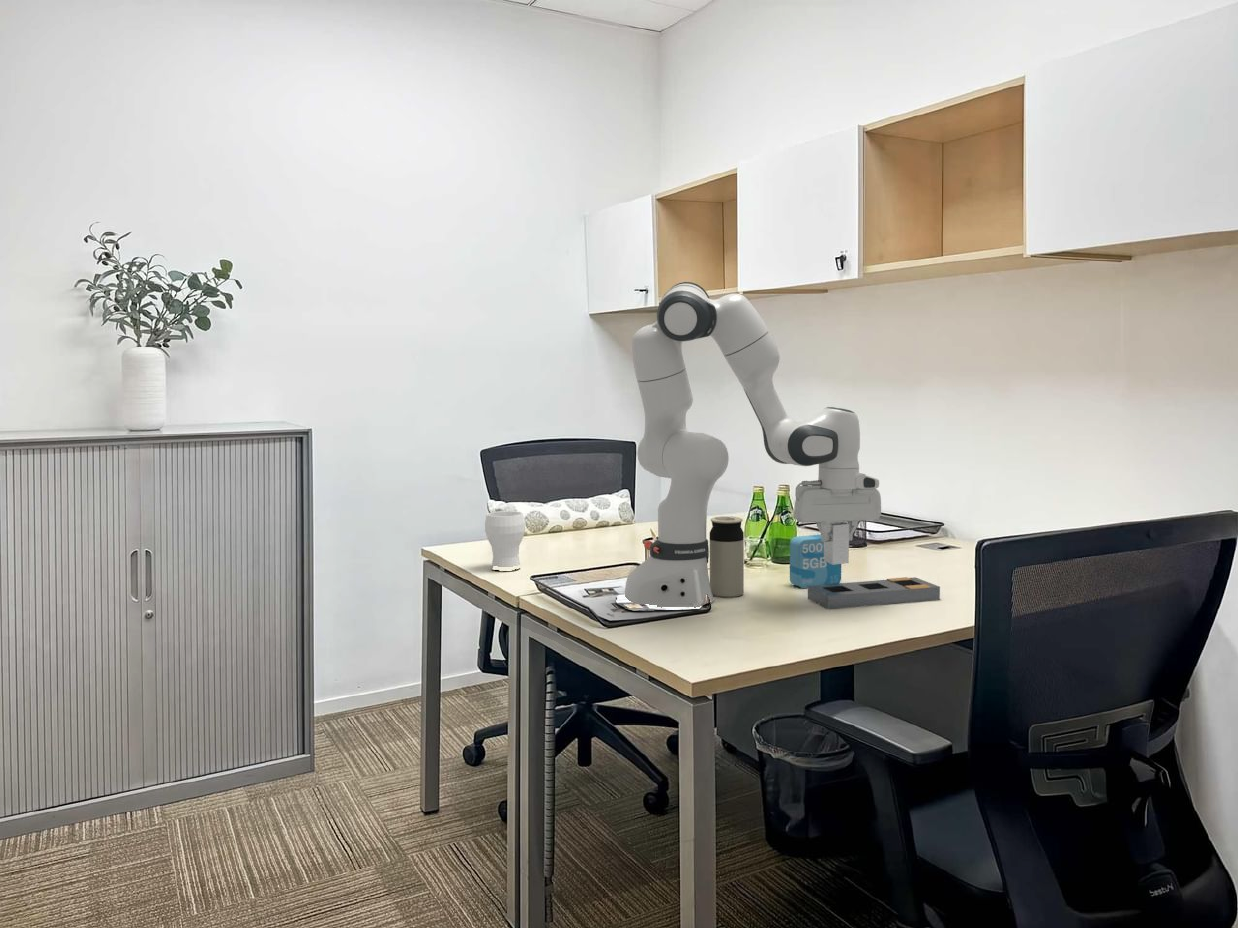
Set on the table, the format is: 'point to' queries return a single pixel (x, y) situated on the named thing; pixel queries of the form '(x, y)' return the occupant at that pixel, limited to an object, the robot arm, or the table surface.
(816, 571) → the data package
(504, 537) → the cup
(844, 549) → the steel peg
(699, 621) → the table surface
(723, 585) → the travel mug
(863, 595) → the hole rail
